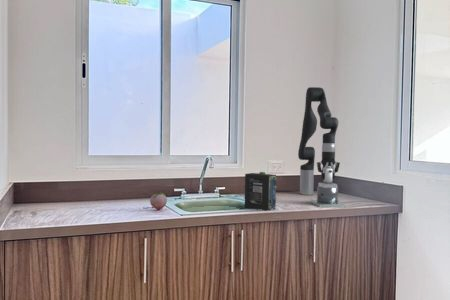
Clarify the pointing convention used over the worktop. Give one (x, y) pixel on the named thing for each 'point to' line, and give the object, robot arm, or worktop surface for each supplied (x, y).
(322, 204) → the motor
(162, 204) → the decorative fruit
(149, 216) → the worktop surface
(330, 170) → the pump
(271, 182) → the black labelled box
